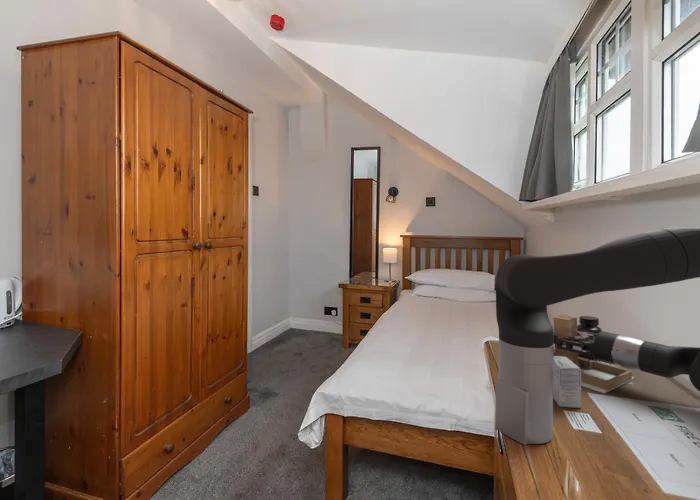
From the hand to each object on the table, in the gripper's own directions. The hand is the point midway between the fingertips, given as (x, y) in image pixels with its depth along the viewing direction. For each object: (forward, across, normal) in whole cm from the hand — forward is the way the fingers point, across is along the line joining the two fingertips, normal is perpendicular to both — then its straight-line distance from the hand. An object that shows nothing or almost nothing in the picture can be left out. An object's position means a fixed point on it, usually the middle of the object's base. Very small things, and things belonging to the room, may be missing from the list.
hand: (553, 334), depth 99 cm
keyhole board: (-7, 0, +9) cm, 11 cm away
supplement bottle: (-2, -16, +9) cm, 18 cm away
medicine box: (-13, +19, +9) cm, 25 cm away
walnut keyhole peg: (-4, 0, +8) cm, 9 cm away
